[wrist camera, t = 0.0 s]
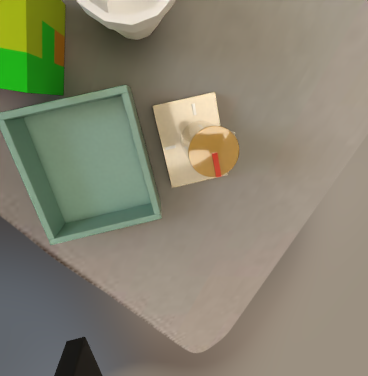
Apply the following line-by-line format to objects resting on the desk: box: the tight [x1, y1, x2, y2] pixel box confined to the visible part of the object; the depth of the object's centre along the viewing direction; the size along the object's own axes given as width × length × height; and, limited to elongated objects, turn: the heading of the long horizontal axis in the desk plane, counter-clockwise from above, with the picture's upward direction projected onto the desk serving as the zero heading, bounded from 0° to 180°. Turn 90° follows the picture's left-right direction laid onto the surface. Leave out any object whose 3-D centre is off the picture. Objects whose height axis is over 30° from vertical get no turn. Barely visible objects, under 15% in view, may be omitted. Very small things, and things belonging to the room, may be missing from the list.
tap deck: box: [152, 92, 235, 188], centre depth 36 cm, size 11×10×3 cm
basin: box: [0, 85, 162, 245], centre depth 34 cm, size 17×15×5 cm
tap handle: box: [180, 120, 239, 177], centre depth 30 cm, size 5×5×9 cm
